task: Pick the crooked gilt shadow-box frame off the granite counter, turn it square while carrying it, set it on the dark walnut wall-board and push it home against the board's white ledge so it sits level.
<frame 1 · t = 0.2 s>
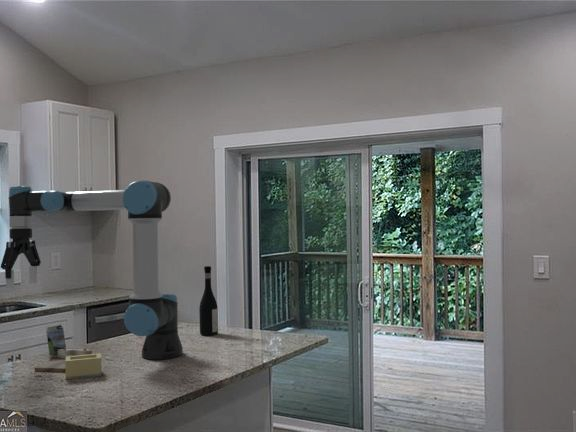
hand: (22, 285, 217), 28 cm above the counter, fingers open, 13 cm apart
wine bottle: (209, 334, 259), on the counter
frame: (83, 375, 194), on the counter
wall board: (64, 366, 207), on the counter
beverage can: (56, 356, 222), on the counter
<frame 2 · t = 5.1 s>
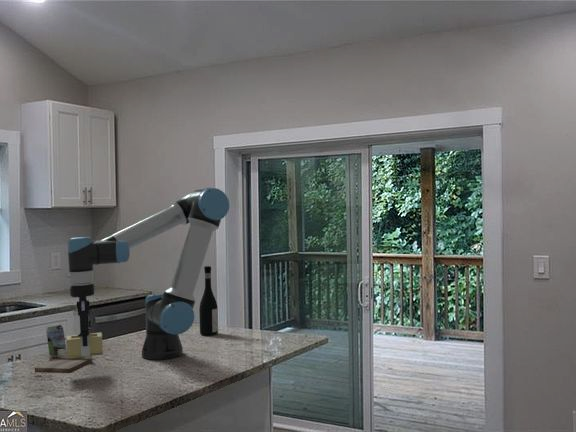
hand: (85, 352, 194), 7 cm above the counter, fingers closed on frame, 7 cm apart
frame: (85, 354, 194), point 7 cm above the counter, touching gripper
everything else where it was.
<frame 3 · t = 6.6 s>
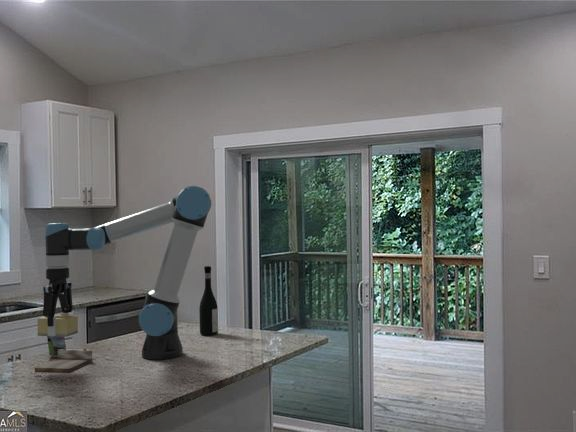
hand: (58, 333, 204), 12 cm above the counter, fingers closed on frame, 7 cm apart
frame: (57, 334, 204), point 12 cm above the counter, touching gripper
everything else where it was.
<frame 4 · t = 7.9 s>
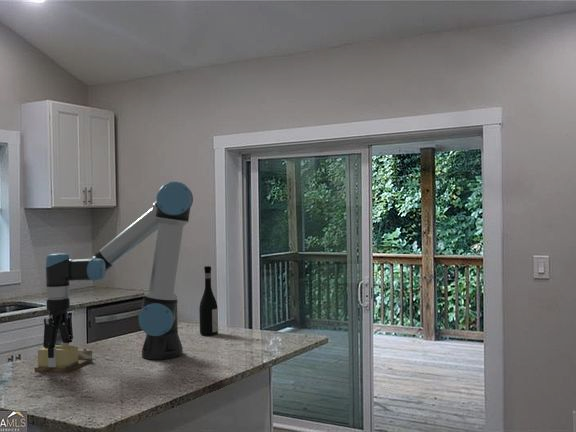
hand: (59, 364, 204), 1 cm above the counter, fingers closed on frame, wall board, 7 cm apart
frame: (58, 364, 204), point 1 cm above the counter, touching gripper, wall board
everything else where it was.
when the fingers open (1 cm above the counter, at t = 8.1 s): frame stays where it is, resting on wall board.
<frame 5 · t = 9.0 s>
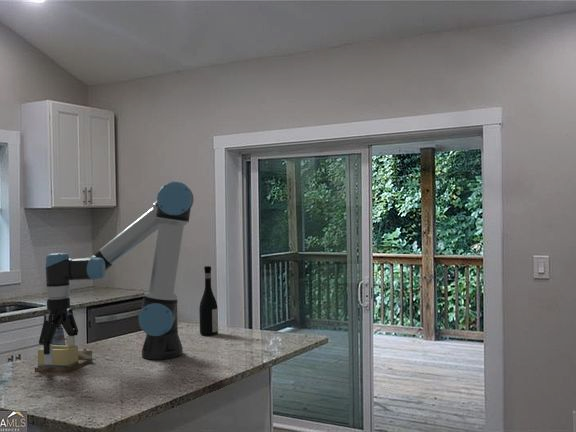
hand: (60, 358, 204), 3 cm above the counter, fingers open, 13 cm apart
frame: (58, 364, 204), point 1 cm above the counter, touching wall board
everything else where it was.
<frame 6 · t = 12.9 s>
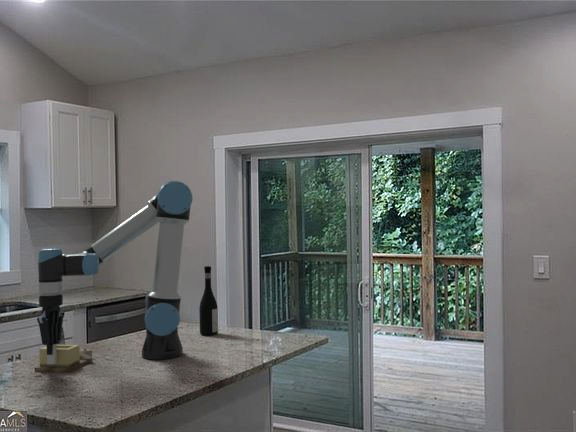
hand: (51, 363, 199), 3 cm above the counter, fingers closed
frame: (59, 364, 205), point 1 cm above the counter, touching gripper, wall board
everything else where it was.
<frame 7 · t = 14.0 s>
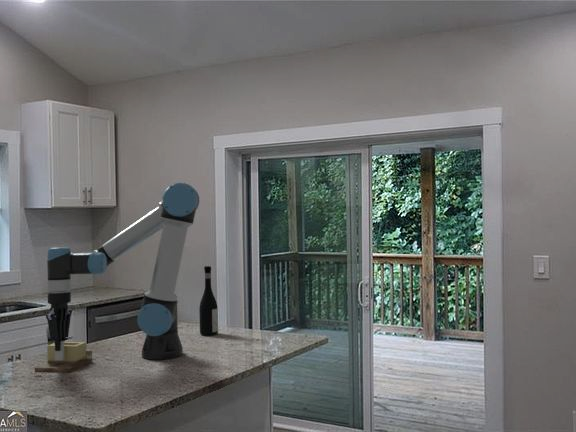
hand: (59, 359, 204), 3 cm above the counter, fingers closed
frame: (67, 360, 210), point 1 cm above the counter, touching gripper, wall board
everything else where it was.
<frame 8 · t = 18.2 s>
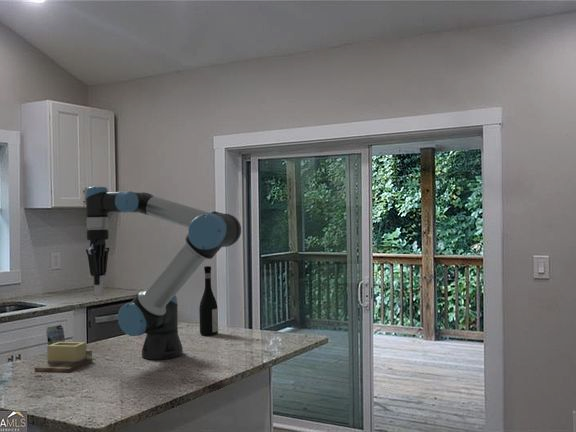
hand: (98, 293, 215), 24 cm above the counter, fingers closed
frame: (67, 360, 210), point 1 cm above the counter, touching wall board
everything else where it was.
at the end: frame inside the target area (0.6 cm from its centre), point 1.2 cm above the counter; frame tilted 0°; the gripper is holding nothing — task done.
